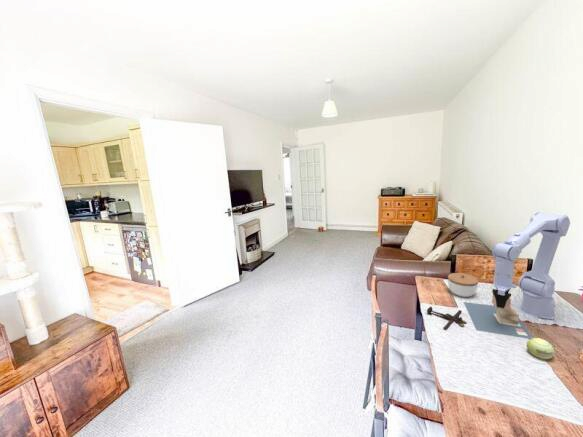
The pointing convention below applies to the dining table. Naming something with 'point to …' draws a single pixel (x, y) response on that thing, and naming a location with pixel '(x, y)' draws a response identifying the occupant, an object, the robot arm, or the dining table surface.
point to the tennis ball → (540, 348)
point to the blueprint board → (494, 321)
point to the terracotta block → (505, 305)
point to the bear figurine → (448, 317)
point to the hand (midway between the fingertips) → (501, 303)
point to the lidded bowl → (462, 284)
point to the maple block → (508, 316)
